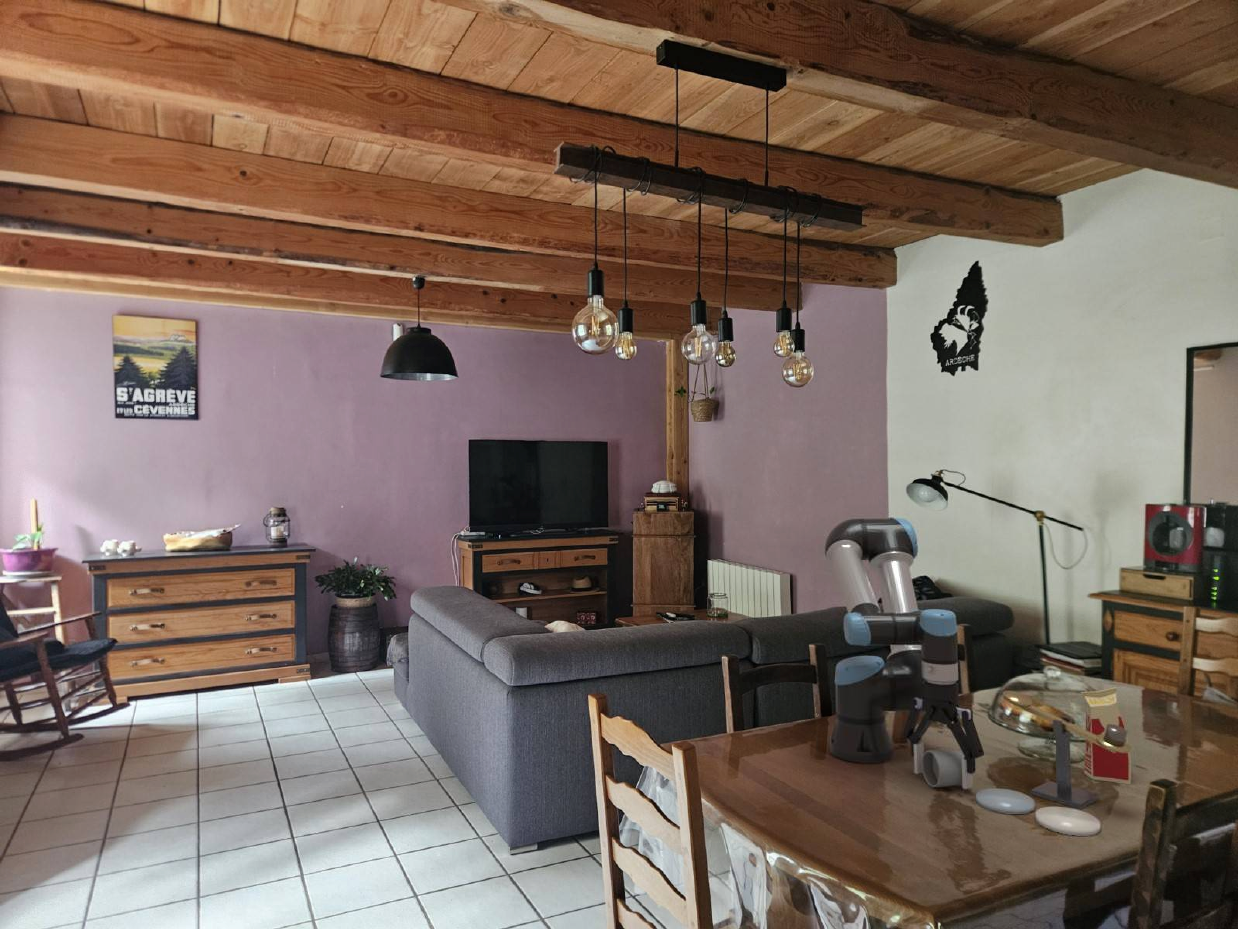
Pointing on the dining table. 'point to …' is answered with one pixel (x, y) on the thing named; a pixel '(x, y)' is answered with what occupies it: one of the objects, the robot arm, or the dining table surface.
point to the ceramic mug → (942, 768)
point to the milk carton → (1097, 718)
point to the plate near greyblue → (1005, 801)
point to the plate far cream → (1068, 821)
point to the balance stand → (1064, 774)
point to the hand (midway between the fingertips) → (942, 779)
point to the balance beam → (1109, 740)
